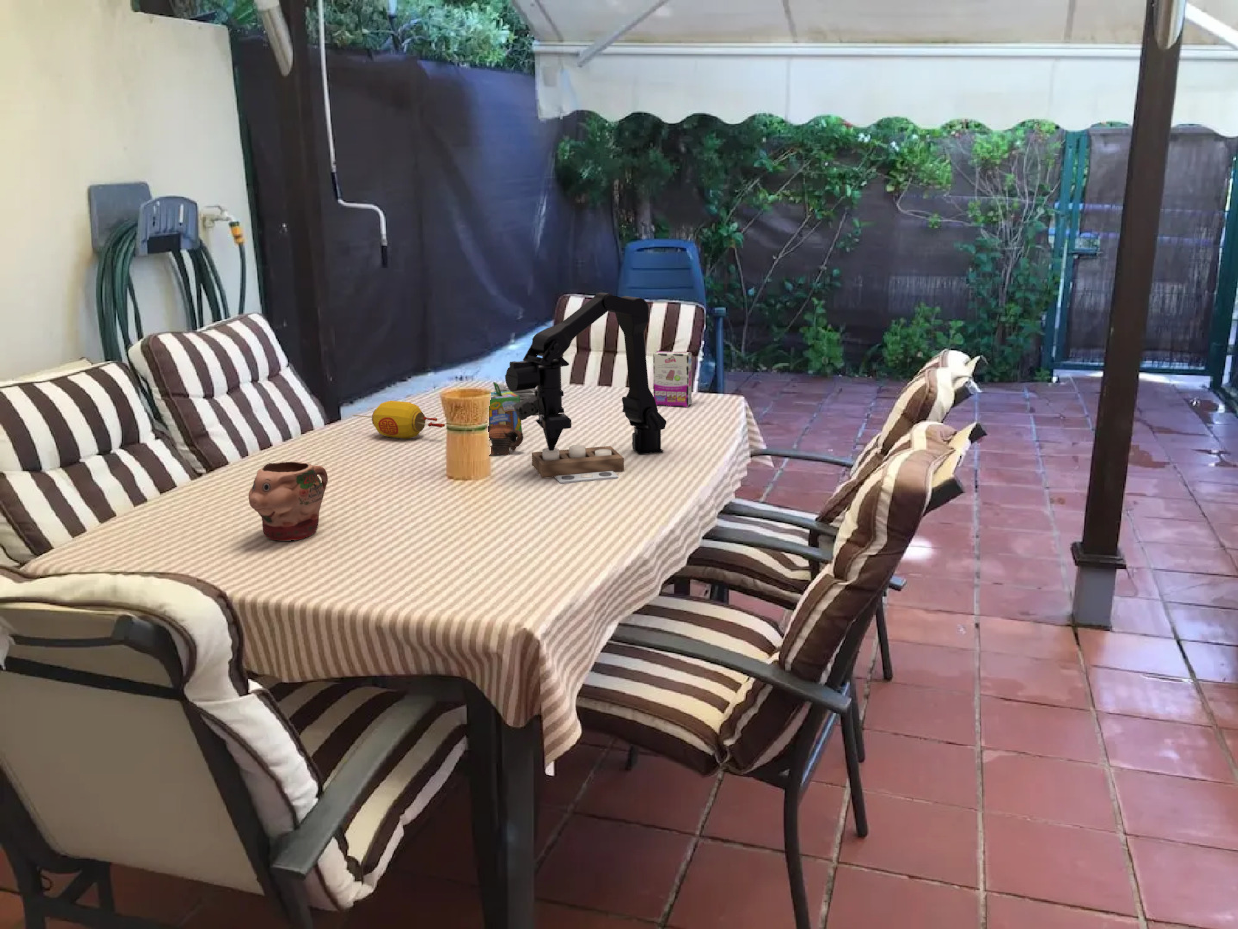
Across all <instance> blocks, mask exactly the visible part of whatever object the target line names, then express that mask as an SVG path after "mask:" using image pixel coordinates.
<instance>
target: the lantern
mask: <svg viewBox="0 0 1238 929" xmlns="http://www.w3.org/2000/svg"><path fill="white" fill-rule="evenodd" d="M352 417H363V418H371V422H372V425H373V426H374V428H375V429H376V431H377V432H378V434H380V435H382V436H384V437H387V438H392V439H401V438H402V440H409V439H414V438H415V437H418V435H419V434H420V433H421V432H422V431H423V430H424V428H425V426H426V425H427V426H428V427H429V428H430V427H437V428H442V429H443V428H444V427H445V426H446V425H445V423H433V422H434V421H435V422H437V421H438V418H437V417H426V416H425V414H424V413H423V411H422V410H421V408H420V407H419V405H417V404H414V403H412V402H408V401H399V400H388V401H385V402H381V403H380V404H379V405H378V406H377V408H376V409H374V411H373V412H372V415H371V416H369V415H367V416H366V415H357V414H352ZM426 420H427V421H431V422H429V423H427V422H426ZM432 421H433V422H432Z"/></svg>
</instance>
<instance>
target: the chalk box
mask: <svg viewBox="0 0 1238 929" xmlns="http://www.w3.org/2000/svg"><path fill="white" fill-rule="evenodd" d="M492 384H493V386H494V389H495V390H494V391H493V392H492V391H490V392H491V400H490V406H489V426H491V425H497V424H504V425H510V426H511V427H512V428H513V431H514V430H519V431H521V432H522V433H523V429H522V428H523V426H522V420H520V419H519V418H518V416H517V414H516V412H515V409H514V407H513V405H514V404H516V403H518V402H520V396H519V395H517V394H515V393H513V392H511V391H505V392H501V391H500V388H499V385H500V384H498V383H497V382H495V381H493V382H492ZM497 388H498V390H499V391H498V390H497Z"/></svg>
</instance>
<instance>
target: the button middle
mask: <svg viewBox="0 0 1238 929" xmlns="http://www.w3.org/2000/svg"><path fill="white" fill-rule="evenodd" d="M585 448H586V446H585V445H581V444H576V445H575V444H573V445H570V446H568V449H569V458H570V459H571V458H583V457H586V450H585Z"/></svg>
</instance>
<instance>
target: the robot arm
mask: <svg viewBox="0 0 1238 929" xmlns="http://www.w3.org/2000/svg"><path fill="white" fill-rule="evenodd" d="M608 312H611V313H614V314H615V317H616V322H617V324H618V325H619V328H620V329H621V331H622V333H623V336H624V348H625V357H626V359H625V360H626V369H627V378H628V391H627V394H626V396H622V398H621V403H622V413H624V416H625V417H626V418H627V419H628V422H629V424H630V426H632V427H633V432H632V433H631V434H632V435H631V442H632V443H631V444H632V450H633V451H634V452H636V453H637V454H638V455H645V454H647V455H648V454H658V453H659V454H660V453H664V450H663V449H662V431H663V430H665V429H666V425H667V420H666V419H665V418H664V417H663V416H662V415H661V413H660V412H659V410H658V406H657V405H656V401H655V398H654V394H653V393H652V391H651V389H650V387H649V376H648V364H647V355H646V353H647V352H646V344H645V343H646V342H645V330H646V328H647V326H648V324H649V315H650V314H649V312H650V307H649V304H648V302H647V301H646V300H645V299H644V298H641V297H635V296H628V295H623V296H621V297H620V296H617V295H616V296H615V295H613V294H612V293H606V292H598V293H596V294H595V295H594V296H593V297H592V298H591V299H590V300H589V301H587V302H585V304H584V305H582V306H580V307H579V308H578V309H577V310H576V311H574V312H573V313H571V315H569V316H568V317H567V318H565V319H564V320H563V321H561V322H559V323H558V324H556V325H553V326H550V327H546V328H545V329H543V330H540V331H538V332H537V333H535V335H534V336H533V337H532V339H531V340H532V341H531V342H532V343H531V345H530V346H529V348H528V350H527V352H526V353H525V355H524V357H523V359H522V361H509V367H508V368H507V369H506V373H505V375H504V378H505V384H506V388H508V389H509V390H510V391H512V392H514V391H521V390H528V389H534V388H536V389H535V390H536V391H534V396H533V397H531V398H528V399H525V400H523V401H521V402H518V403H516V404H514V405H513V407H514V409H515V412H516V414H517V416H518V418H519V419H520V420H521V421H524V420H526V419H528V418H530V417H531V416H533V417H535V416H536V415H535V414H536V413H537V414H538V415H537V416H538V419H537V418H536V419H535V422H536V423H537V424H538V425H539V426H540V427H541V428H542V431H543V434H544V437H545V442H546V445H547V448H548V449H549V451H552V450H554V448H556V446H557V444H558V441H559V439H560V436H561V435H562V434H561V433H562V432H563V430H565V429H572V419H571V418H570V417H569V416H568V415H566V413H565V408H564V407H563V404H562V403H563V400H562V399H563V396H564V395H565V394H564V390H562V367H568V366H570V363H569V362H568V361H567V360H566V359H565V358H564V357H563V354H565V353H566V352H567V350H568V349H569V348H570V347H571V344H572V342H573V340H574V339H575V338H576V337H577V336H578V335H579V334H581V333H582V332H584V331H585V330H586V329H587V328H589V327H590V326H591V325H593V324H594V323H595V322H596V321H598V320H599V319H600V318H602V317H603V316H604V315H605V314H607V313H608Z"/></svg>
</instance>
